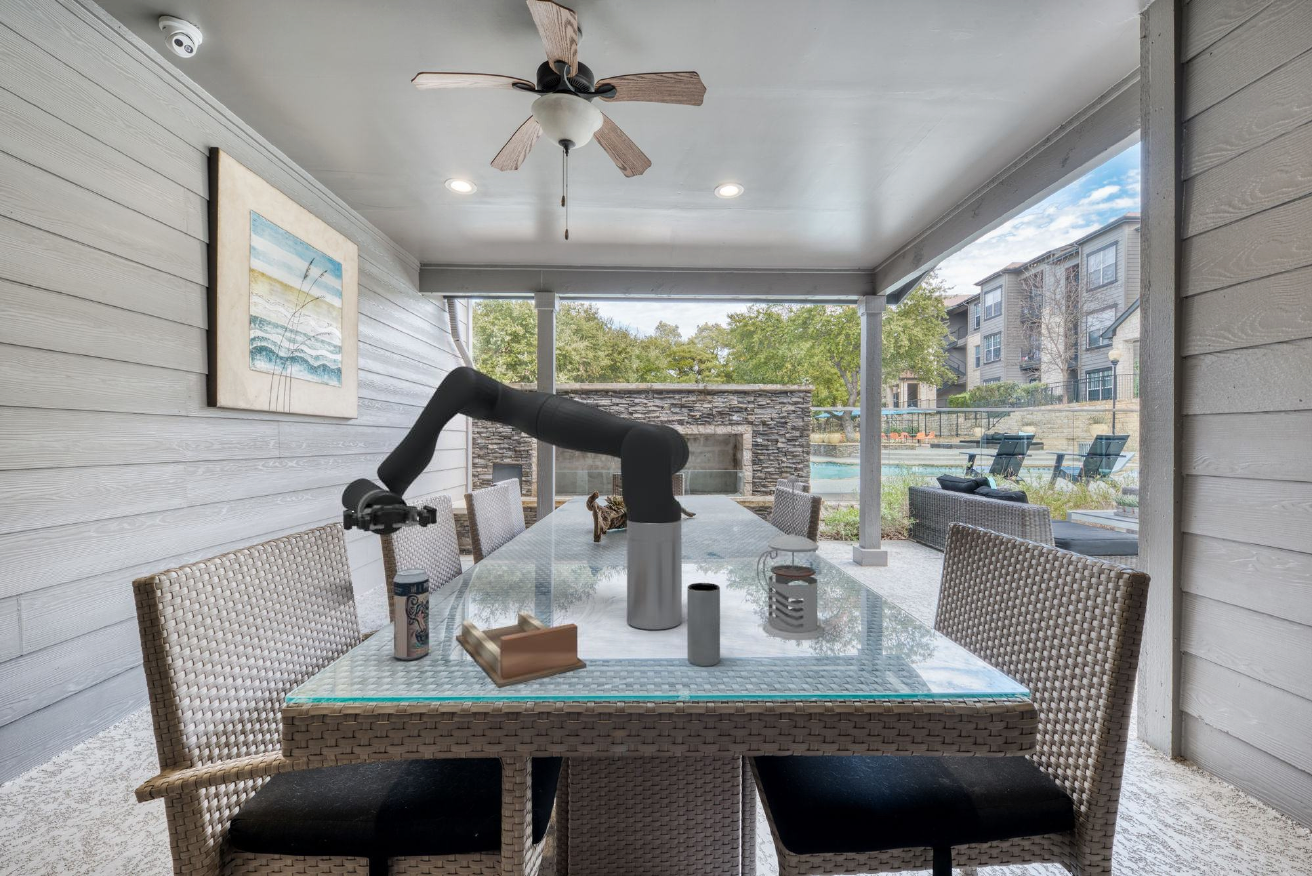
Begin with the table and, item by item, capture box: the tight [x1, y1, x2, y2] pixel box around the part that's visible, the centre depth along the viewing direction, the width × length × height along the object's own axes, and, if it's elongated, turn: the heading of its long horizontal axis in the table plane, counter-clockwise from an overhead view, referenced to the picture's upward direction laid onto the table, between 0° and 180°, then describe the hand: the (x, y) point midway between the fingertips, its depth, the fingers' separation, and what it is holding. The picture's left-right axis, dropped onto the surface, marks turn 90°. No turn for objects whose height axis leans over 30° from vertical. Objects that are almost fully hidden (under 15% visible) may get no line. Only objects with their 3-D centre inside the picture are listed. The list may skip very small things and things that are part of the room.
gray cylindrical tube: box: [686, 582, 721, 667], centre depth 82 cm, size 4×4×10 cm
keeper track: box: [455, 610, 587, 688], centre depth 85 cm, size 21×12×6 cm, turn 33°
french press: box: [756, 474, 825, 641], centre depth 96 cm, size 10×12×25 cm
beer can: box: [392, 568, 430, 661], centre depth 84 cm, size 5×5×12 cm
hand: (397, 522), depth 93 cm, fingers open, 8 cm apart
